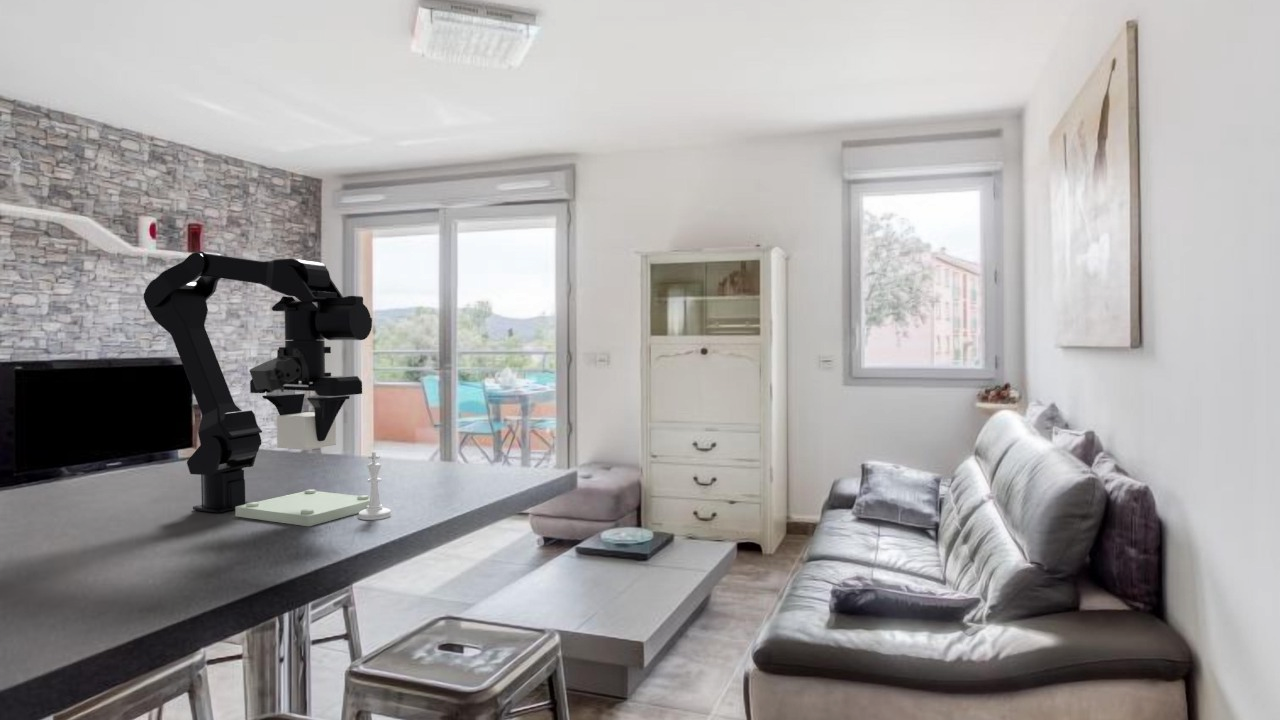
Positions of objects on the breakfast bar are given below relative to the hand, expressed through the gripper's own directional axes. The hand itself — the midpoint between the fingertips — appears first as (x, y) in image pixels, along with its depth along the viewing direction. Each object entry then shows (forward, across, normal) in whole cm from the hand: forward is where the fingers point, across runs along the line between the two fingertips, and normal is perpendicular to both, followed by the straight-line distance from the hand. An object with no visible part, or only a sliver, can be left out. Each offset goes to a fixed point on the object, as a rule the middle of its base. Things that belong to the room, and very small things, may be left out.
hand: (306, 439), depth 122 cm
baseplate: (+12, -1, +1) cm, 12 cm away
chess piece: (+12, +11, +3) cm, 17 cm away
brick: (+1, 0, 0) cm, 1 cm away
